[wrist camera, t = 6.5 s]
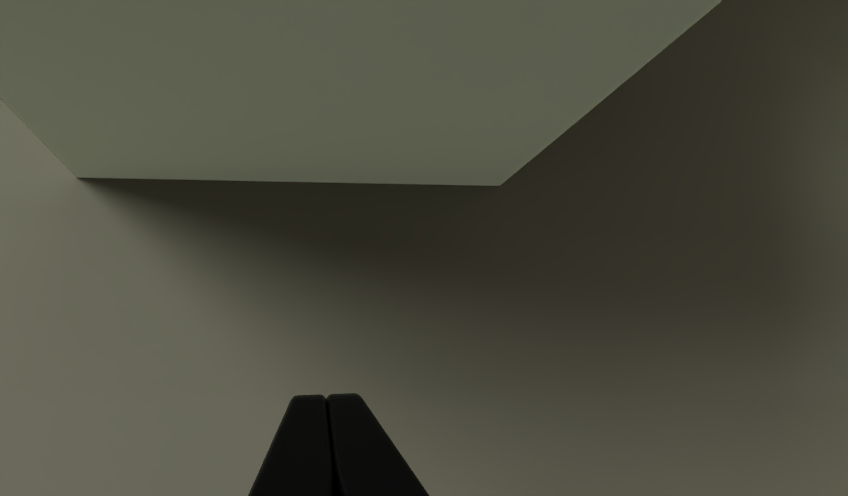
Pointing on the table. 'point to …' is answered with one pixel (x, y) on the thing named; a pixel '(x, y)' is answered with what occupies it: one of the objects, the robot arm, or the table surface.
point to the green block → (320, 83)
